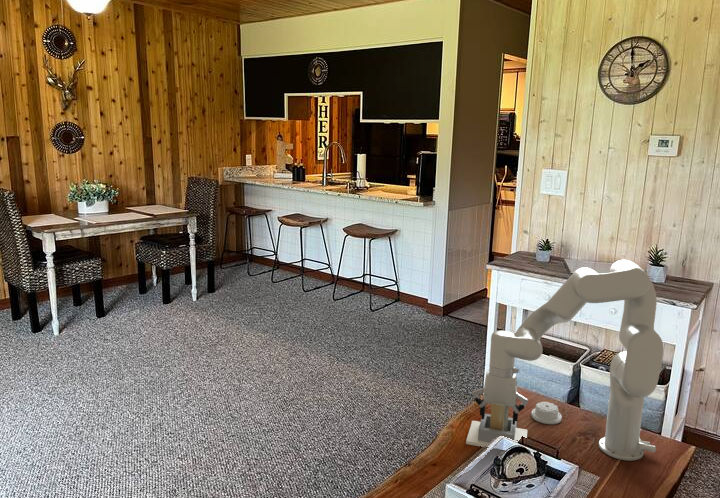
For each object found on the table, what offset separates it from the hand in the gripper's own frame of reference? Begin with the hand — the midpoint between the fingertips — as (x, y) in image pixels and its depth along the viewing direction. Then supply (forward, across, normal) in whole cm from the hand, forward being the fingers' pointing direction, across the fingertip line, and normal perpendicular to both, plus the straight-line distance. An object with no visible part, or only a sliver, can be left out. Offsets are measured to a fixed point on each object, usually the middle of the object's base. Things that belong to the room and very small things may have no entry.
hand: (498, 420), depth 179 cm
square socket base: (+6, 0, 0) cm, 6 cm away
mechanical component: (+7, -15, -20) cm, 26 cm away
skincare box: (+6, 0, 0) cm, 6 cm away
